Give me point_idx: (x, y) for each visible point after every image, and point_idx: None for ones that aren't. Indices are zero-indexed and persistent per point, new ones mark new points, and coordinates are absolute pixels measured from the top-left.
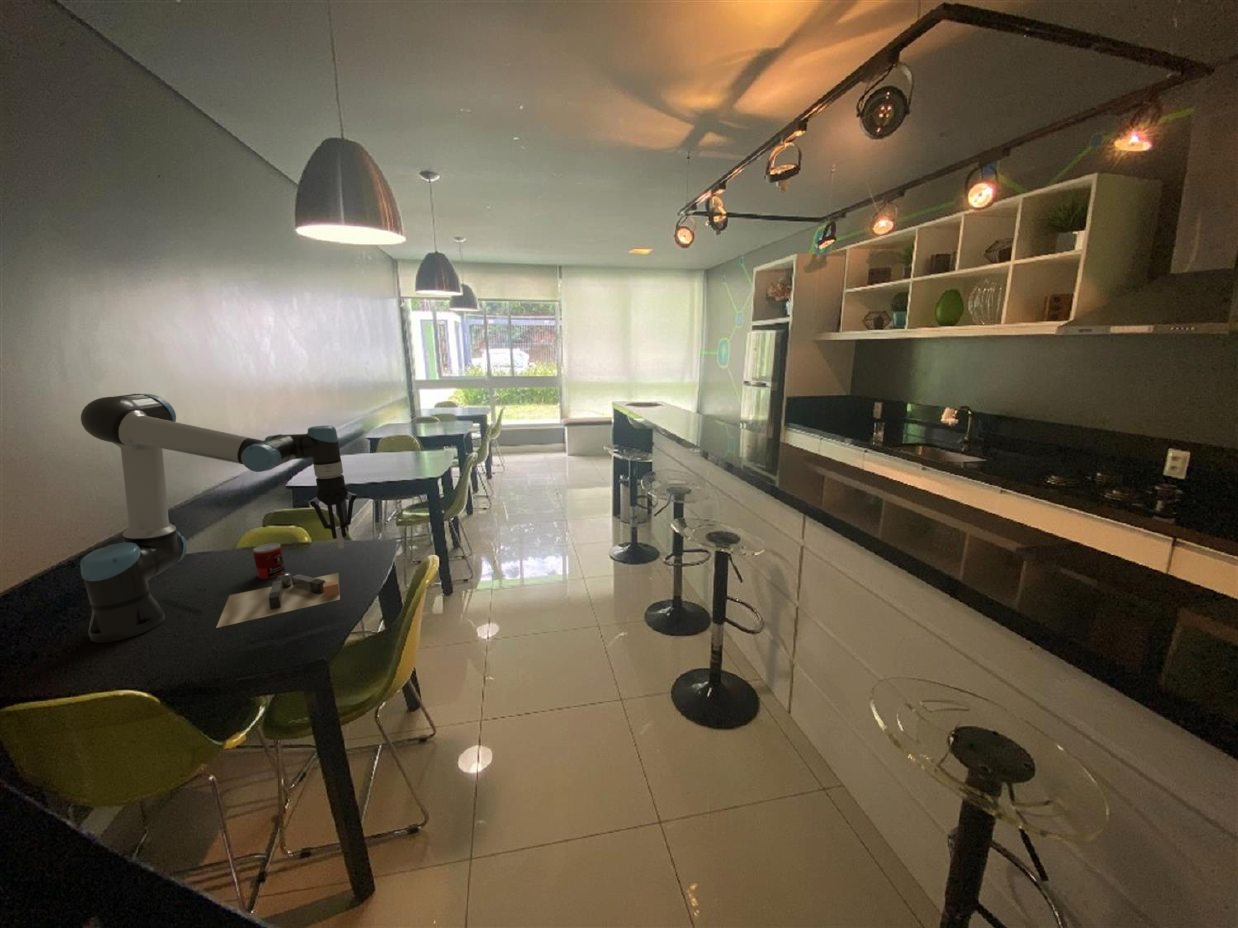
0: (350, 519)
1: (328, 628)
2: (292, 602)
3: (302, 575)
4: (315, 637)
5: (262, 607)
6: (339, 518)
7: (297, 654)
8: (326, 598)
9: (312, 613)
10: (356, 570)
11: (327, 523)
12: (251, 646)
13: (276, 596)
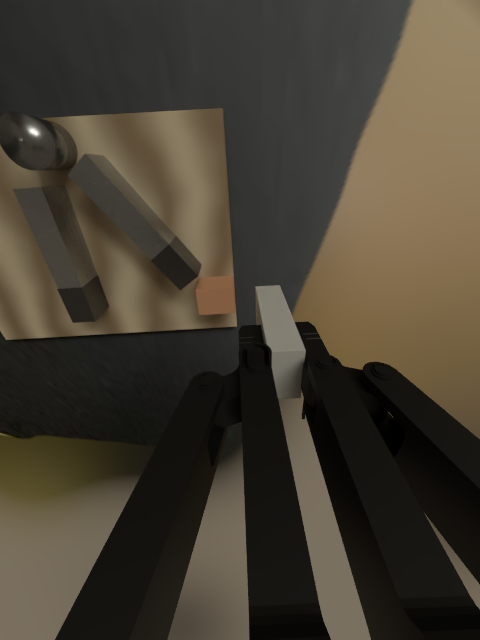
0: (398, 442)
1: None
2: (128, 292)
3: (107, 181)
4: None
5: None
6: (325, 474)
7: None
8: None
9: (185, 340)
10: (284, 80)
11: (218, 402)
12: (114, 401)
13: (89, 320)
